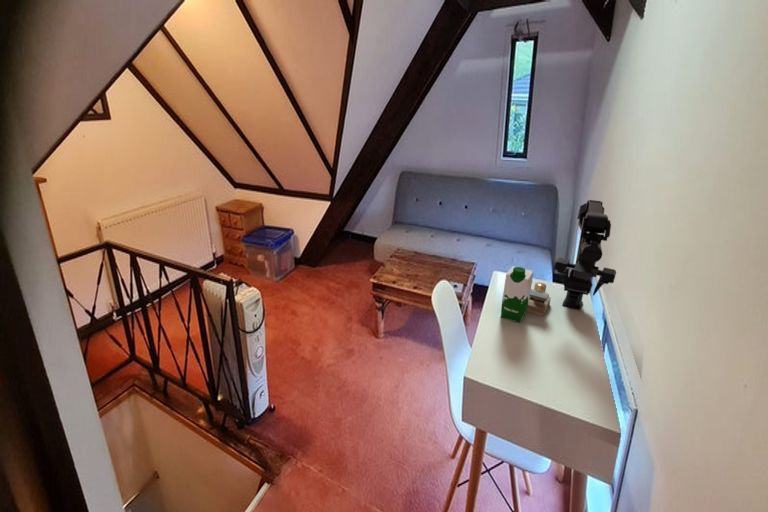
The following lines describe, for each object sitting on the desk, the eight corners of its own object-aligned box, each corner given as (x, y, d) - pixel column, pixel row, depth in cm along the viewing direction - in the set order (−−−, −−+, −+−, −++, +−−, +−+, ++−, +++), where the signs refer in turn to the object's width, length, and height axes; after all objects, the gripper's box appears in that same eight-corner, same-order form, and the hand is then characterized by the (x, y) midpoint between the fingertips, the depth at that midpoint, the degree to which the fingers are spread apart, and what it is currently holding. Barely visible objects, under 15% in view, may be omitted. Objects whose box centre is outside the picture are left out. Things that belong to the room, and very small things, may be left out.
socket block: (528, 298, 157) (531, 281, 154) (549, 304, 153) (553, 287, 150) (521, 309, 149) (524, 292, 146) (543, 316, 145) (546, 298, 142)
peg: (530, 305, 152) (533, 285, 148) (532, 301, 155) (536, 281, 151) (540, 309, 150) (544, 288, 146) (543, 304, 153) (547, 284, 149)
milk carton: (497, 317, 144) (504, 268, 136) (504, 306, 151) (512, 259, 143) (521, 324, 140) (530, 275, 132) (528, 313, 147) (537, 265, 139)
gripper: (554, 252, 130) (546, 293, 137) (618, 266, 121) (605, 309, 127) (561, 242, 139) (553, 281, 145) (621, 254, 129) (609, 295, 136)
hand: (579, 291), depth 138 cm, fingers open, 9 cm apart
